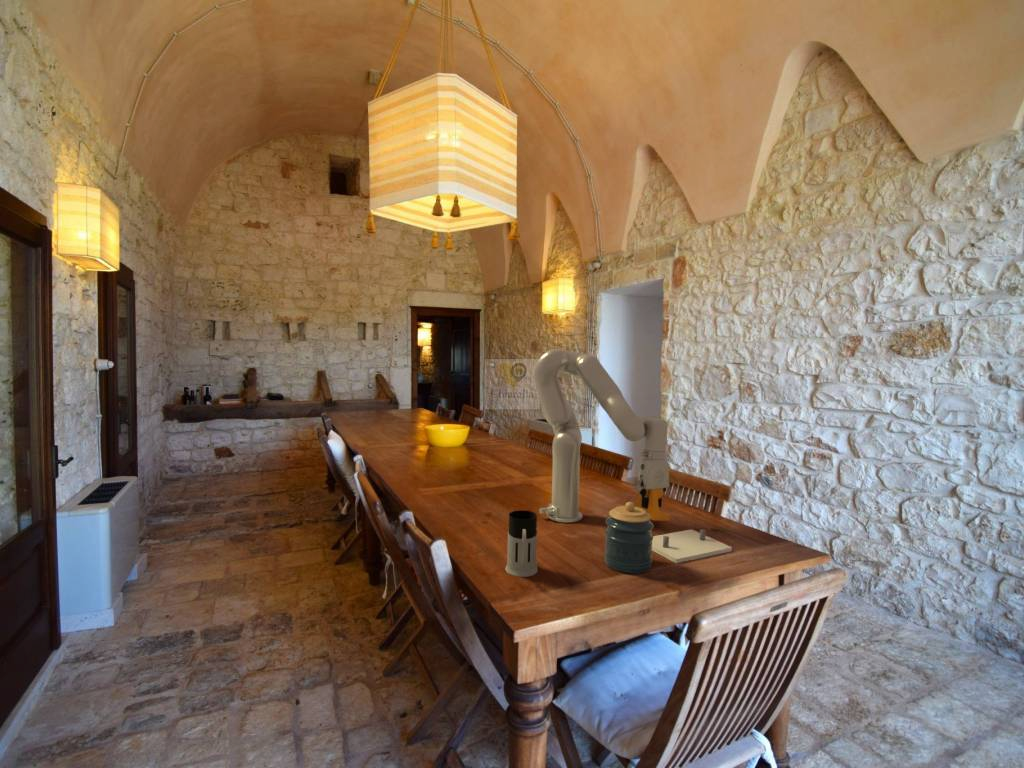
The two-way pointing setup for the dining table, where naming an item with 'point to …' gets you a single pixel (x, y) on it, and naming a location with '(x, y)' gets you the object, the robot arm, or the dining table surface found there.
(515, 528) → the glass holder
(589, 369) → the robot arm
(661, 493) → the bracket
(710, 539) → the locating board
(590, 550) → the dining table surface
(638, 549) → the canister
